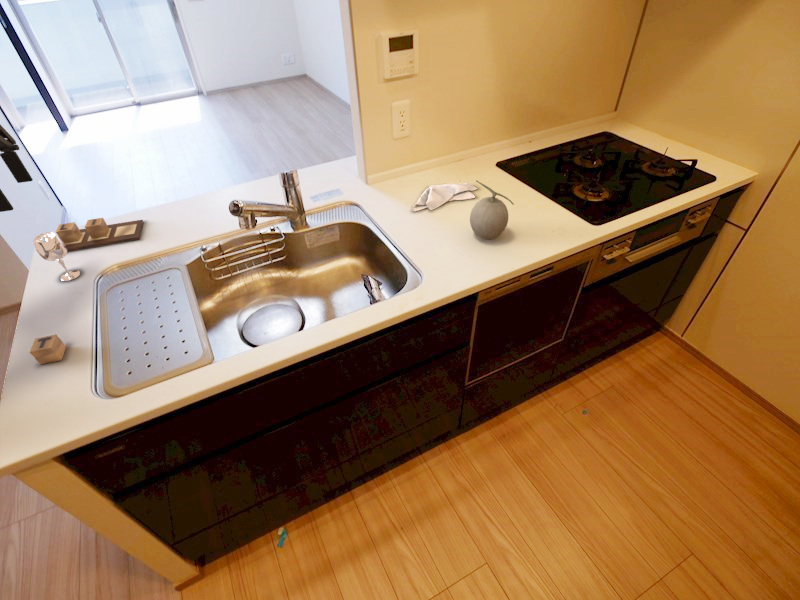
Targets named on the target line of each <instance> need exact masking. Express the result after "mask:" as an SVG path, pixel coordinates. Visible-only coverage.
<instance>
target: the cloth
mask: <svg viewBox="0 0 800 600" xmlns="http://www.w3.org/2000/svg"><path fill="white" fill-rule="evenodd" d="M475 190H478V188H477V187H476V186H475V185H473V183H472V182H462V183H459V182H458V183H457V182H455V183H454V182H453V183H442V184H430V185H429V187H427V188H426V189H425V190H424V191H423V193H422V194H421V196H420V197H419V198H418V200H417V201H416V202H415V203H414V205H413V206H412V211H413V212H418V211H422V210H425V209H428V210H429V211H433V210H435V209H437V208H440V207H441V206H443V205H444V204H445V203H448V202H452V201H453V202H454V201H465V200H471V199H475V198H476V196H475V195H474V194H473V191H475Z"/></svg>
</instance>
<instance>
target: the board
mask: <svg viewBox="0 0 800 600" xmlns="http://www.w3.org/2000/svg"><path fill="white" fill-rule="evenodd" d="M144 224H145V222H144V220H143V219H138V220H131V221H126V222H125V221H123V222H118V223H113V224H107V226H108V228H109V232H108V234H107V236H106V237H100V238H93V239H92V238H91V237H90V235H89V233H88V232H87V230H86V228H81V229H80V228H79V230H80V232H81V233H82V235H81V237H80V239H79V241H76V242H70V243H64V244H65V245H66V247H67V253H69V252H75V251H80V250H86V249H93V248H98V247H105V246H113V245H116V244H122V243H128V242H129V243H130V242H135V241H140V239H141V237H142V236H141V235H142V231H143V227H144Z"/></svg>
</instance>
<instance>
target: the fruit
mask: <svg viewBox="0 0 800 600" xmlns="http://www.w3.org/2000/svg"><path fill="white" fill-rule="evenodd" d="M475 182H476V183H478V184H480V185H481V187H484V188H485V189H487V190H488V192H490V193H491V195H492V196H487V197H482V198H481V199H479V200H478V201H476V202H475V204H474V205H473V206H472V209H471V211H470V215H469V223H470V227H471V230H472V231H473V233H474V234H475V235H476V236H477V237H478V238H481V239H485V240H493V239H496V238H498V237H500V236H501V235H502V233H504V232H505V230H506V228H507V226H508V222H509V211H508V208H507V205H506V204H505V203H504V202H503V200H501V199H499V198H498V197H497V196H500V197H502V198H504V199H506V200H508V202H510V203H511V204H512V205H515V203H514V202H513V201H512V200H511V199H510V198H508V197H506V196H505V195H503V194H501V193H499V192H496V191H495V190H493V189H492V188H490V187H489V186H487V185H485V184H484V183H482V182H480V181H479V180H475Z"/></svg>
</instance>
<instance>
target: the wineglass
mask: <svg viewBox="0 0 800 600" xmlns="http://www.w3.org/2000/svg"><path fill="white" fill-rule="evenodd" d="M32 242H33V245H34V248H35V250H36V252H37V253H38V255H39V256H40V257H41V258H42V259H44V260H45V261H48V262H58V264H59V265H61V266H62V267H63V269H64V271H65V272H64V273H63V274H62V275H61V276H60V280H61V281H62V282H69V281H72V280H73V281H74V280H75V279H76V278H78V277H80V275H81V271H80V270H77V269H73V270H69V269H68V267H67V266H66V265H65V262H64V260H63V258H64V257H66V256H67V254H68V252H67V247H66V245H65V244H64V242H63V241H62V240H61V239H60V238H59V236H58V235H57V233H56V232H55V233H54V232H51V231H49V232H42V233H40V234H38V235H36V236H35V237H34V238H33V239H32Z"/></svg>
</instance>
